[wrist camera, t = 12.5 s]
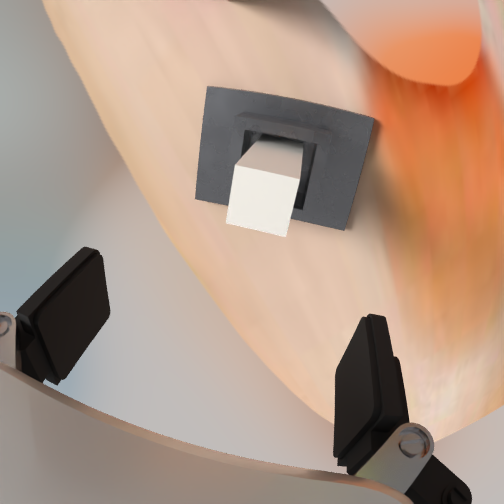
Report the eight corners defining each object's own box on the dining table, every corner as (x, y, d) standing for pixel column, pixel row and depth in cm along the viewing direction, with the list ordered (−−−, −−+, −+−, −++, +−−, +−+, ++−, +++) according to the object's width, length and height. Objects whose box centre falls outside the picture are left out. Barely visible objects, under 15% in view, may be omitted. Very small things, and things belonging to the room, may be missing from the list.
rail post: (303, 143, 29) (300, 179, 19) (294, 182, 31) (285, 237, 21) (262, 134, 30) (235, 164, 19) (255, 173, 32) (225, 223, 21)
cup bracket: (372, 117, 28) (384, 124, 23) (343, 226, 34) (348, 251, 29) (210, 86, 29) (191, 87, 24) (198, 195, 35) (180, 215, 30)
